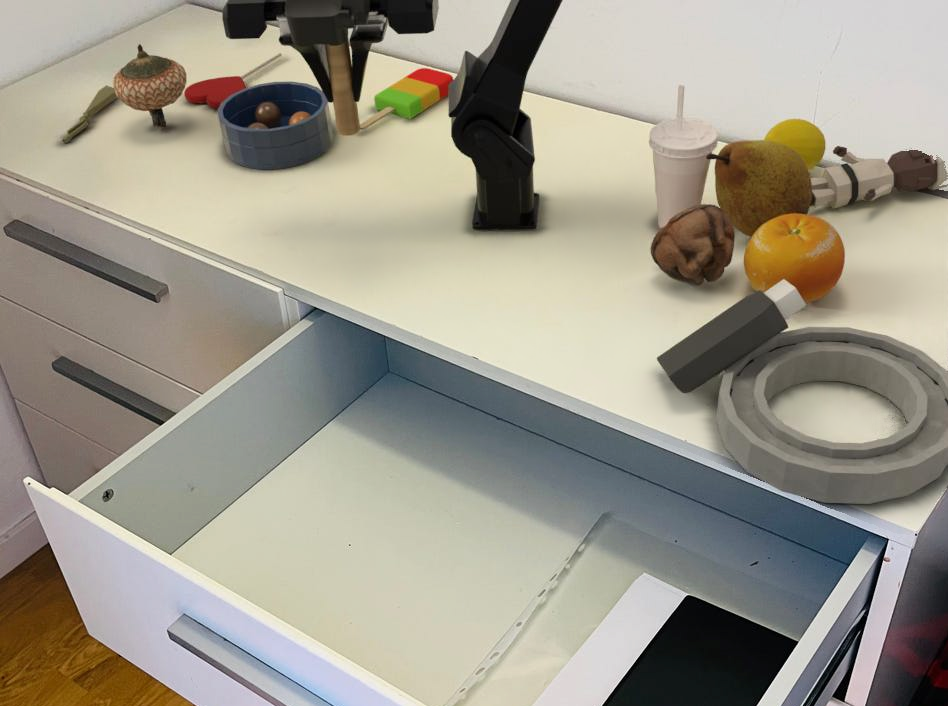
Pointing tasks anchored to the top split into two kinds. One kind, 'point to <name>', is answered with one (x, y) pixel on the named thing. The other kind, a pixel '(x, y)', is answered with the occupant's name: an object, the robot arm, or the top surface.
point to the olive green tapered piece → (92, 110)
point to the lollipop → (219, 87)
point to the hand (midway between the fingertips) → (344, 100)
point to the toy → (876, 177)
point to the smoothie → (680, 161)
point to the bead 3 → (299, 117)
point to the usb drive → (730, 336)
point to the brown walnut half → (695, 245)
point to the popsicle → (411, 95)
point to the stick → (342, 88)
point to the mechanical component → (823, 462)
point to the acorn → (150, 84)
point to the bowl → (284, 140)
